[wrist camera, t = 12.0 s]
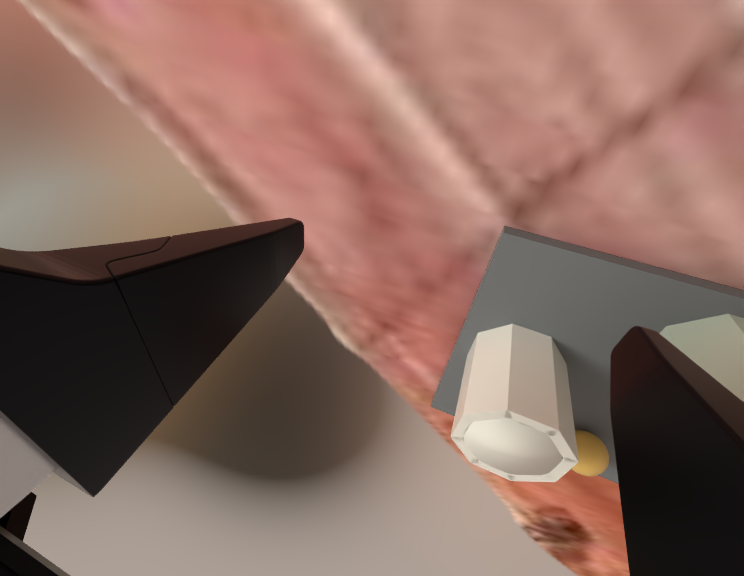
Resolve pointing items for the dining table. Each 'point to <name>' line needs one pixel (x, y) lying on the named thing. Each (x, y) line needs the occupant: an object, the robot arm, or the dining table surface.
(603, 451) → the amber marble
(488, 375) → the cream cup
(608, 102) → the dining table surface
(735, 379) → the sage cup
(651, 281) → the mat
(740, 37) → the dining table surface
